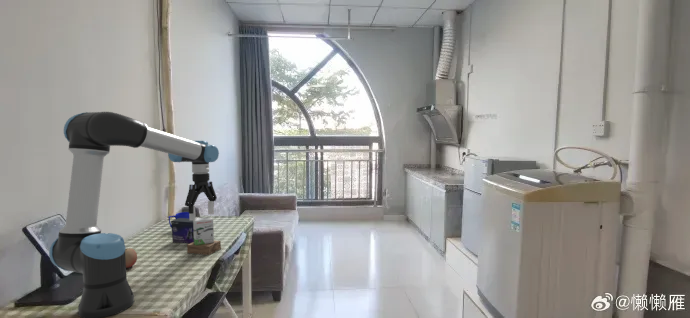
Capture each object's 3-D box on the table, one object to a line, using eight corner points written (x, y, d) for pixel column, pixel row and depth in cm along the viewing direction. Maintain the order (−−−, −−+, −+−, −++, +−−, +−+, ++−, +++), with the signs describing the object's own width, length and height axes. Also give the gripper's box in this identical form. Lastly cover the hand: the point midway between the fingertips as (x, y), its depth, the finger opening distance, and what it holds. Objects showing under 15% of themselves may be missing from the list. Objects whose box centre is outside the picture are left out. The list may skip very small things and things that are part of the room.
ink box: (195, 245, 167) (194, 220, 166) (193, 242, 171) (192, 218, 170) (214, 242, 171) (213, 218, 170) (212, 239, 175) (211, 216, 174)
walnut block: (209, 254, 165) (208, 246, 165) (187, 253, 168) (187, 244, 168) (220, 248, 174) (220, 240, 174) (199, 247, 177) (199, 239, 177)
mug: (169, 230, 210) (168, 213, 209) (191, 227, 215) (190, 211, 214) (168, 233, 203) (168, 216, 202) (191, 230, 208) (191, 214, 207)
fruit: (118, 265, 153) (117, 247, 153) (139, 263, 156) (138, 245, 156) (113, 272, 146) (112, 253, 145) (135, 269, 149) (134, 250, 148)
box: (171, 243, 185) (170, 220, 184) (180, 239, 191) (179, 217, 191) (200, 245, 181) (199, 221, 180) (208, 241, 187) (207, 218, 186)
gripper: (189, 175, 155) (191, 223, 157) (223, 170, 179) (224, 212, 181) (175, 175, 157) (176, 222, 158) (210, 170, 181) (211, 211, 183)
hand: (202, 217), depth 170 cm, fingers open, 13 cm apart
